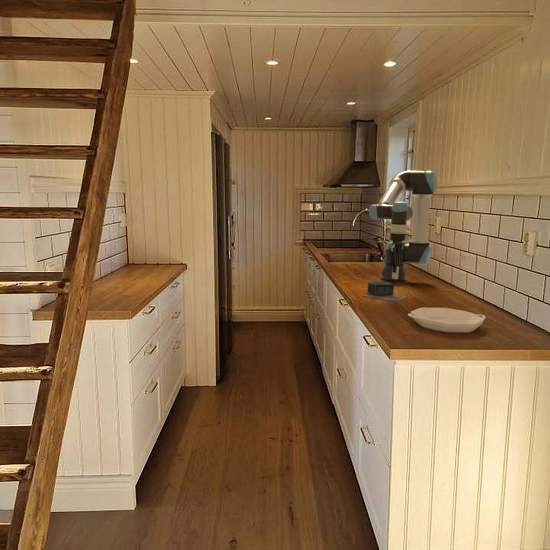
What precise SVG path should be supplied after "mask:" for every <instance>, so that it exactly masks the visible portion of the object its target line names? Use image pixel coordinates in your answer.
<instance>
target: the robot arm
mask: <svg viewBox="0 0 550 550" xmlns="http://www.w3.org/2000/svg"><path fill="white" fill-rule="evenodd" d="M437 187H438V181H437V175H436V173H435V172H434V171H433V170H406V171H402V172H399V173H398V174H397V175H395V176H394V177H393V178H392V179H391V180H390V181H389V183H388V187H387V189H386V191H385V192H384V194H383V195H382V197H381V198H380V200H379V201H378V202H377V203H375V204H371V205H370V206H369V208H368V209H369V210H368V214H369V217H370V219H374V220H375V219H376V220H391V221H390V227H389V228H390V232H391V233H390V234H389V240H390V241H387V243H386V244H385V253H384V254H385V255H384V266H383V267H382V268H383V269H382V271H381V274H380V279H381V280H386V281H392V282H393V281H395V282H397V281H399V282H401V281H402V282H403V281H406V280H407V273H406V270H405V264H415V265H416V264H417V265H427V264H428V263H429V261H431V257H432V252H433V245H431V244H430V241H429V240H428V230H429V229H428V228H429V218H430V205H431V198H432V196H433V195H434V193H435V192H436V191H437V190H438V189H437ZM404 192H411V195H412V196H413V198H414V199H413V208H412V207H411V206H409V204H408V202H406V201H397V200H398V198H399V196H401V194H402V193H404ZM410 219H412V229H411V238H410V239H409V240H408V243H407V240H406V236H407V235H406V232H407V221H409V220H410Z"/></svg>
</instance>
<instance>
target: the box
mask: <svg viewBox="0 0 550 550" xmlns="http://www.w3.org/2000/svg"><path fill="white" fill-rule="evenodd" d="M394 290H395V284H393V283H390V282H388V281H372V282H371V281H370V282H369V281H368V282H367V294H372V295H375V296H379V295H394Z"/></svg>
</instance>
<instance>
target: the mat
mask: <svg viewBox="0 0 550 550" xmlns="http://www.w3.org/2000/svg"><path fill="white" fill-rule="evenodd" d="M362 297H364V298H370V299H375V298H376V299H377V300H382V301H387V300H388V302H393V303H397V302H400V301H402V300H405V299H408V296H404V295H397V294H393V295H379V296H375V295H372V294H370V293H367V294H364V295H362ZM376 299H375V300H376Z"/></svg>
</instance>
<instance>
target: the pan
mask: <svg viewBox="0 0 550 550" xmlns="http://www.w3.org/2000/svg"><path fill="white" fill-rule="evenodd" d="M407 315H408V316H409V317H410V318H412V319H414V322H416V324H417V325H419V326H421V327H422V328H424V329H427V330H432V331H437V332H440V333H441V332H442V333H446V334H447V333H448V334H449V333H452V334H453V333H454V334H456V333H457V334H461V333H462V334H469V333H472V332H474V331H476V330H477V329H478V327H480V326H481V325H482V324H483V323H484V321H485V319H487V317H486V316H485V314H484V315H483V314H478V313H477V314H475V313H473V312H470V311H465V310H459V309H455V308H450V307H419V308H417V309H414V310H411V311H410V313H408V314H407Z"/></svg>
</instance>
